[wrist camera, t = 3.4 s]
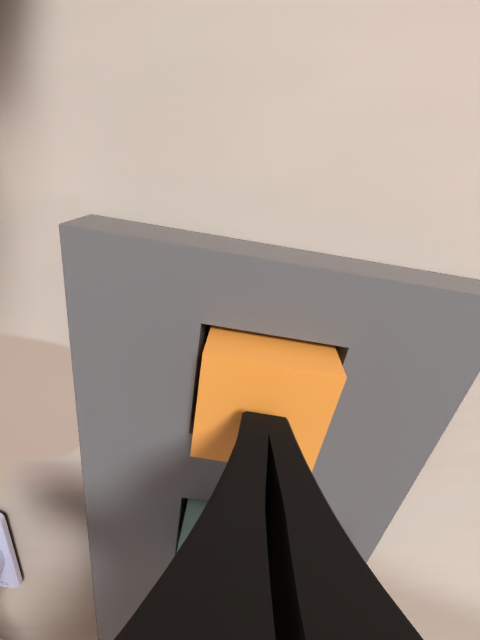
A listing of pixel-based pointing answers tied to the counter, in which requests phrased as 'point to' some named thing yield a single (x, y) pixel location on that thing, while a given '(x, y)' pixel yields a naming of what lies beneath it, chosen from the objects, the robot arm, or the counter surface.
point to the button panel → (184, 372)
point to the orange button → (264, 389)
